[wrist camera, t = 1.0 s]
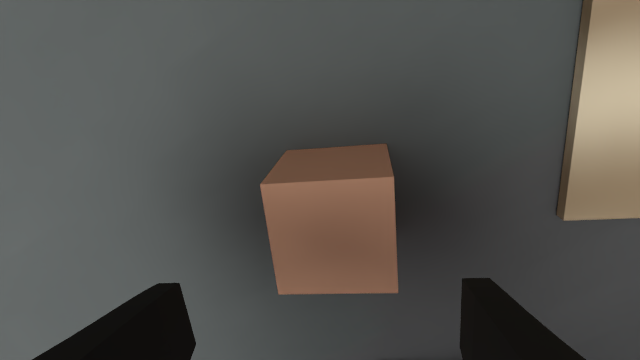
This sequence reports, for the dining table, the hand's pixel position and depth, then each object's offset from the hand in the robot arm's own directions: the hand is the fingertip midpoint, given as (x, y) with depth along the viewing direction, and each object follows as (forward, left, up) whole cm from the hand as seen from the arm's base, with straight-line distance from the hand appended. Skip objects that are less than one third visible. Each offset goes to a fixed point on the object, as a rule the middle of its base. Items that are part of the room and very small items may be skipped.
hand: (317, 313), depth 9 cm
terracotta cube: (0, 0, -8) cm, 8 cm away
